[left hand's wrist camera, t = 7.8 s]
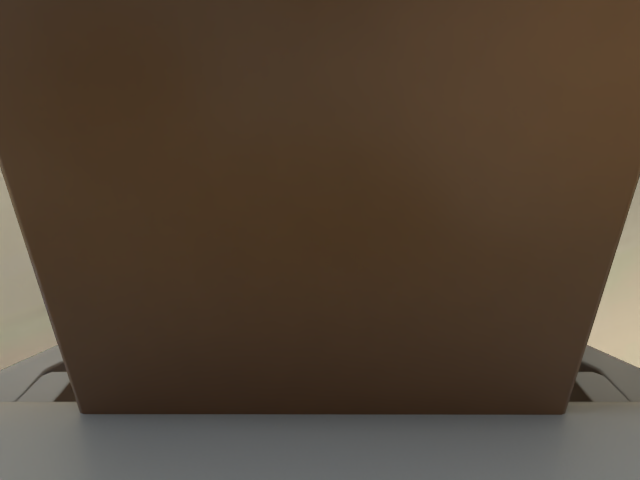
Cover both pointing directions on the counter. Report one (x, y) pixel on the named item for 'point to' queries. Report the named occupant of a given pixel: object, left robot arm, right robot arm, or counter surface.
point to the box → (321, 197)
